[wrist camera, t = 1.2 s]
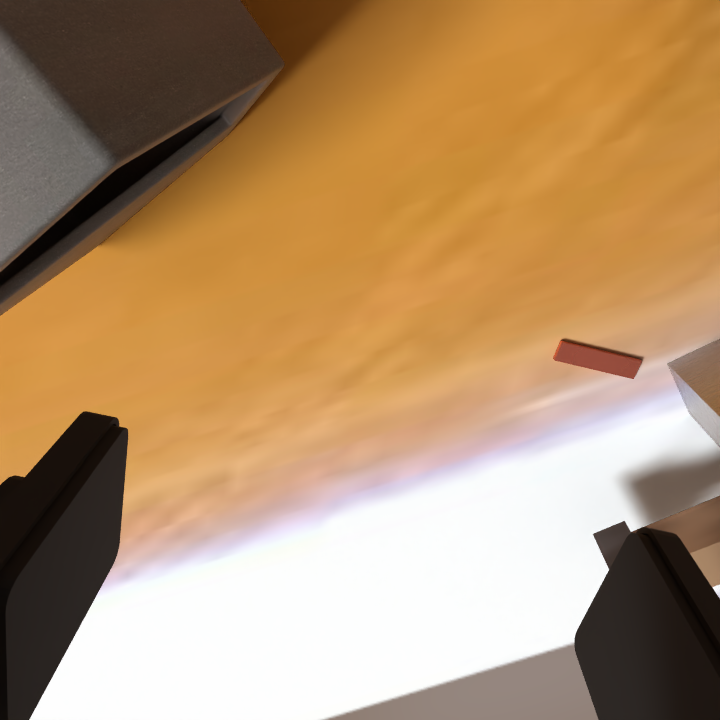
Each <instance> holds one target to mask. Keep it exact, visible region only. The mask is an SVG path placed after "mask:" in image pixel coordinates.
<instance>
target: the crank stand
mask: <svg viewBox="0 0 720 720" xmlns="http://www.w3.org/2000/svg"><path fill="white" fill-rule="evenodd" d="M553 359H554V360H555V361H560V362H564V363H568V364H572V365H576V366H581V367H585V368H589V369H593V370H597V371H602V372H606V373H610V374H614V375H619V376H623V377H627V378H631V379H634V377H635V375H636V373H637V371H638V369H639V367H640V365H641V363H642V361H641V360H640V359H637V358H632V357H628V356H624V355H620V354H616V353H612V352H607V351H603V350H599V349H595V348H591V347H587V346H582V345H578V344H574V343H570V342H566V341H562V340H561V341H560V343H559V345H558V348H557V350H556V353H555V355H554V357H553Z"/></svg>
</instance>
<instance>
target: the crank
mask: <svg viewBox="0 0 720 720" xmlns="http://www.w3.org/2000/svg"><path fill="white" fill-rule="evenodd" d="M645 527H648V528H653V529H657V530H662V531H667V532H672V533H674V534H677V536H678V537H679V538H680V539H681V541H682V542H683V544H684V545H685V547H686V548H687V550H688V551H689V553H690V554H691V556H692V557H693V559H694V560H695V562H696V563H697V565H698V567H699V568H700V570H701V571H702V573H703V574H704V576H705V577H706V579H707V580H708V582H709V583H710V585H711V586H712V587H713V586H716V585H719V584H720V496H718V497H716V498H713V499H711V500H708V501H706V502H704V503H701V504H699V505H696V506H694V507H691V508H689V509H686V510H684V511H682V512H679V513H677V514H674V515H672V516H669V517H667V518H664V519H662V520H660V521H657V522H655V523H652V524H650V525H647V526H645ZM638 530H639V529H637V530H635V531H633V532H630V530H629V528H628V526H627V525H626V523H625V521H623V522H621V523H618V524H616V525H613V526H611V527H609V528H606V529H604V530H601V531H599V532H597V533H594V534H593V535H594V538H595V540H596V542H597V544H598V546H599V548H600V550H601V553H602V555H603V557H604V559H605V561H606V563H607V566H608V568H609V569H610V568H611V566H612V564H613V562H614V560H615V558H616V556H617V554H618V553H619V551H620V549H621V547H622V545H623V543H624V541H625V539H626V538H627V536H628V535H629V534H631V533H636V532H637V531H638Z"/></svg>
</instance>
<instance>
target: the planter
mask: <svg viewBox="0 0 720 720" xmlns="http://www.w3.org/2000/svg"><path fill="white" fill-rule="evenodd" d="M284 65H285V63H284V61H283V60H282V58H281V57H280V55H279V54H278V53H277V51H276V50H275V48H274V47H273V46H272V44H271V43H270V41H269V40H268V39H267V37H266V36H265V34H264V33H263V32H262V30H261V29H260V27H259V26H258V25H257V23H256V22H255V20H254V19H253V18H252V16H251V15H250V13H249V12H248V11H247V9H246V8H245V6H244V5H243V4H242V2H241V1H240V0H0V315H2V314H3V313H5V312H6V311H7V310H9V309H10V308H12V307H13V306H15V305H16V304H17V303H19V302H20V301H22V300H23V299H24V298H26V297H27V296H29V295H30V294H31V293H33V292H34V291H36V290H37V289H38V288H40V287H41V286H43V285H44V284H45V283H47V282H48V281H50V280H51V279H52V278H54V277H55V276H57V275H58V274H59V273H61V272H62V271H64V270H65V269H66V268H68V267H69V266H71V265H72V264H73V263H75V262H76V261H78V260H79V259H80V258H82V257H83V256H85V255H86V254H87V253H89V252H90V251H92V250H93V249H94V248H96V247H97V246H98V245H99V244H101V243H102V242H103V241H104V240H105V239H106V238H108V237H109V236H110V235H111V234H112V233H114V232H115V231H116V230H117V229H118V228H119V227H121V226H122V225H123V224H124V223H125V222H126V221H128V220H129V219H130V218H131V217H132V216H134V215H135V214H136V213H137V212H138V211H139V210H141V209H142V208H143V207H144V206H145V205H146V204H148V203H149V202H150V201H151V200H152V199H154V198H155V197H156V196H157V195H158V194H159V193H161V192H162V191H163V190H164V189H165V188H166V187H168V186H169V185H170V184H171V183H172V182H174V181H175V180H176V179H177V178H178V177H179V176H181V175H182V174H183V173H184V172H185V171H186V170H188V169H189V168H190V167H191V166H192V165H194V164H195V163H196V162H197V161H198V160H199V159H201V158H202V157H203V156H204V155H205V154H206V153H208V152H209V151H210V150H211V149H212V148H214V147H215V146H216V145H217V144H218V143H219V142H221V141H222V140H223V139H224V138H225V137H226V136H227V135H228V134H229V133H230V132H231V131H232V130H233V128H234V127H235V126H236V125H237V124H238V122H239V121H240V120H241V119H242V117H243V116H244V115H245V114H246V113H247V111H248V110H249V109H250V108H251V106H252V105H253V104H254V103H255V102H256V100H257V99H258V98H259V97H260V95H261V94H262V93H263V92H264V91H265V89H266V88H267V87H268V86H269V84H270V83H271V82H272V81H273V80H274V78H275V77H276V76H277V75H278V73H279V72H280V71H281V70H282V69H283V67H284Z"/></svg>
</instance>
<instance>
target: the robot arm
mask: <svg viewBox="0 0 720 720" xmlns="http://www.w3.org/2000/svg"><path fill="white" fill-rule="evenodd" d="M127 445H128V429H127V428H123V427H119V420H118V419H117V418H116V417H111V416H106V415H101V414H96V413H91V412H87V411H86V412H83V413H81V414H80V415H79V416H78V417H77V419H76V420H75V421H74V422H73V423H72V424H71V425H70V427H69V428H68V429H67V430H66V431H65V432H64V433H63V435H62V436H61V437H60V438H59V439H58V440H57V441H56V443H55V444H54V445H53V446H52V447H51V448H50V449H49V450H48V452H47V453H46V454H45V455H44V456H43V457H42V458H41V460H40V461H39V462H38V463H37V464H36V465H35V466H34V468H33V469H32V470H31V471H30V472H29V473H28V474H27V476H26V477H20V476H12V477H9V478H8V479H6V480H5V481H4V482H3V483H2V484H1V485H0V720H29V719H30V717H31V715H32V713H33V712H34V710H35V708H36V706H37V704H38V702H39V701H40V699H41V697H42V695H43V693H44V691H45V689H46V688H47V686H48V684H49V682H50V680H51V678H52V677H53V675H54V673H55V671H56V669H57V667H58V665H59V664H60V662H61V660H62V658H63V656H64V654H65V653H66V651H67V649H68V647H69V645H70V643H71V641H72V640H73V638H74V636H75V634H76V632H77V630H78V629H79V627H80V625H81V623H82V621H83V619H84V617H85V616H86V614H87V612H88V610H89V608H90V606H91V605H92V603H93V601H94V599H95V597H96V595H97V593H98V592H99V590H100V588H101V586H102V584H103V582H104V581H105V579H106V577H107V575H108V573H109V571H110V569H111V568H112V566H113V564H114V561H115V559H116V556H117V553H118V549H119V543H120V531H121V519H122V507H123V494H124V482H125V469H126V457H127ZM575 651H576V655H577V658H578V661H579V664H580V667H581V670H582V672H583V676H584V678H585V681H586V684H587V687H588V690H589V693H590V696H591V699H592V702H593V705H594V707H595V710H596V713H597V716H598V719H599V720H720V599H719V597H718V596H717V594H716V593H715V591H714V589H713V588H712V586H711V585H710V583H709V582H708V580H707V579H706V577H705V576H704V574H703V573H702V571H701V570H700V568H699V567H698V565H697V563H696V562H695V560H694V559H693V557H692V556H691V554H690V553H689V551H688V550H687V548H686V547H685V545H684V544H683V542H682V541H681V539H680V538H679V537H678V536H677V534H674V533H672V532H667V531H662V530H657V529H653V528H648V527H642V528H640V529H639V530H638V531H637V532H636V533H631V534H629V535H628V536H627V538H626V539H625V541H624V543H623V545H622V547H621V549H620V551H619V553H618V554H617V556H616V558H615V560H614V562H613V564H612V566H611V568H610V569H609V571H608V573H607V575H606V577H605V579H604V581H603V583H602V585H601V586H600V588H599V590H598V592H597V594H596V596H595V598H594V600H593V601H592V603H591V605H590V607H589V609H588V611H587V613H586V615H585V617H584V618H583V620H582V622H581V624H580V626H579V628H578V630H577V632H576V635H575Z"/></svg>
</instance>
